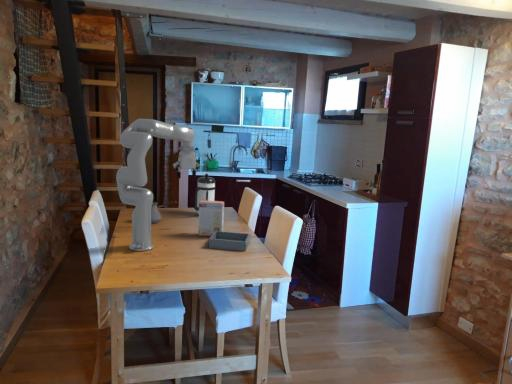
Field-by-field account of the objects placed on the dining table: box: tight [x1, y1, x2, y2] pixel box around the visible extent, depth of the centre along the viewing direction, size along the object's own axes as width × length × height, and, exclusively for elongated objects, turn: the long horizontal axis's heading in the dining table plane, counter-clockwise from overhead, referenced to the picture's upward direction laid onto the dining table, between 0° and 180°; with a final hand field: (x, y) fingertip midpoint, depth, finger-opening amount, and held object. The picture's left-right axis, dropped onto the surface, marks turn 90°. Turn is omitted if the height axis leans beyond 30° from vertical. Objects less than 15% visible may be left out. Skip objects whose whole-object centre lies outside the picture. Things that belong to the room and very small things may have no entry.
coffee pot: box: [151, 200, 178, 225], centre depth 258 cm, size 21×12×15 cm, turn 90°
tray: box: [208, 231, 251, 252], centre depth 221 cm, size 16×20×5 cm
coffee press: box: [193, 173, 216, 216], centre depth 280 cm, size 17×16×30 cm
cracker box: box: [198, 200, 225, 238], centre depth 235 cm, size 14×6×21 cm, turn 84°
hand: (186, 177), depth 241 cm, fingers open, 9 cm apart
